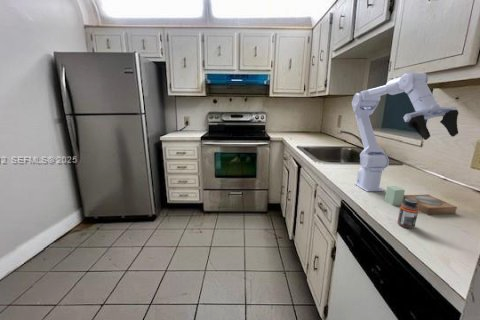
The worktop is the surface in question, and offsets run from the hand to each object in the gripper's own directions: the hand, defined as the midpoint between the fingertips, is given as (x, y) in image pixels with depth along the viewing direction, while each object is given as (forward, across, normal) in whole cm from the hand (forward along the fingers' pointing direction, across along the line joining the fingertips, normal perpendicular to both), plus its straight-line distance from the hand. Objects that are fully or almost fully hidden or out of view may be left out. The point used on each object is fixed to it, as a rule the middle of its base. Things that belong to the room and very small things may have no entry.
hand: (441, 136), depth 69 cm
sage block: (+13, -8, +26) cm, 30 cm away
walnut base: (+16, +3, +25) cm, 30 cm away
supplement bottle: (+24, -13, +11) cm, 30 cm away
